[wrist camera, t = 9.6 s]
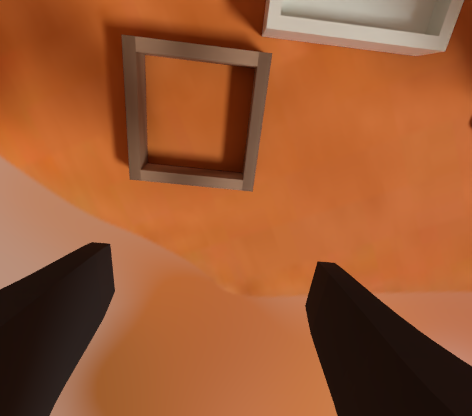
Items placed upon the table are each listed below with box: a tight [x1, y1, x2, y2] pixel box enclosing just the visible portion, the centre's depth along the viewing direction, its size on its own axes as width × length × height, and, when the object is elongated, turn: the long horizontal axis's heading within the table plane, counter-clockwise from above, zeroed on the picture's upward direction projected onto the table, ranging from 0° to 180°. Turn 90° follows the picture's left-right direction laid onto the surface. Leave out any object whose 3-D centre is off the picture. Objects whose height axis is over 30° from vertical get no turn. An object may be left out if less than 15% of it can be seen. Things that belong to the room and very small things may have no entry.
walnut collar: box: [122, 35, 272, 191], centre depth 17 cm, size 8×8×2 cm
